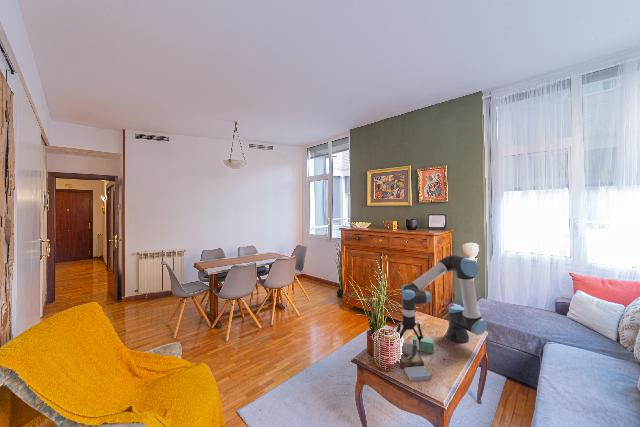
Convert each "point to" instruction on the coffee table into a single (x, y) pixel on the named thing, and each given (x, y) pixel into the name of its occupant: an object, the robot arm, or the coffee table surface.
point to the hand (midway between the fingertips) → (409, 349)
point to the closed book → (417, 373)
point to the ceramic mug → (409, 350)
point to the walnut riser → (411, 361)
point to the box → (425, 344)
